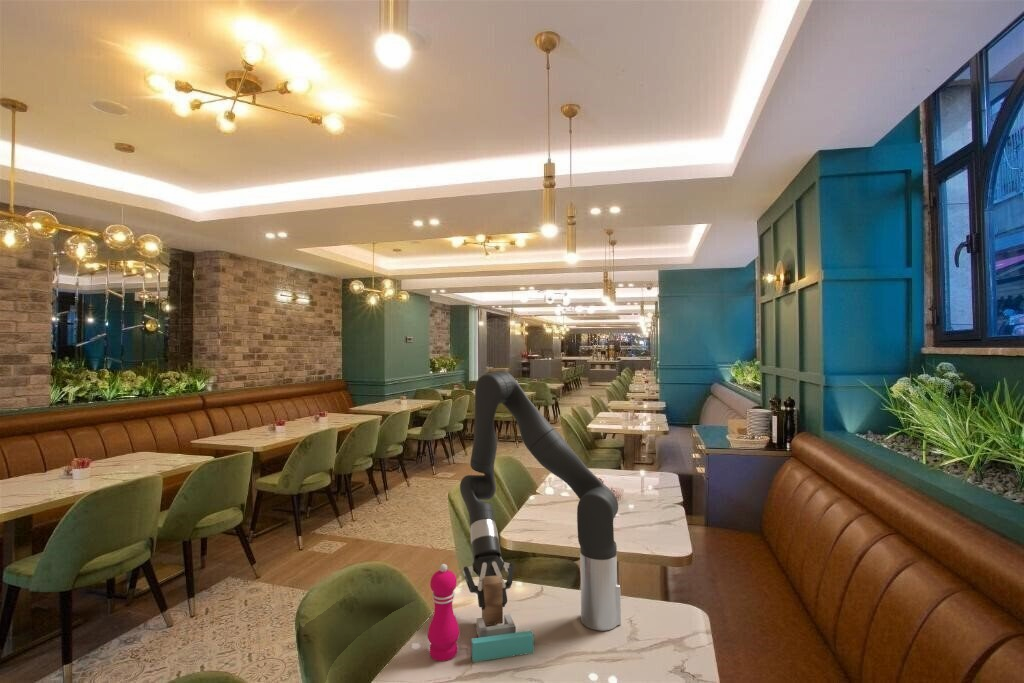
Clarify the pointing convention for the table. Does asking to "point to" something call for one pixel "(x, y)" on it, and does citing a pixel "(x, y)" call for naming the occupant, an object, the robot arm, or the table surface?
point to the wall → (502, 645)
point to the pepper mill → (443, 616)
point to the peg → (492, 600)
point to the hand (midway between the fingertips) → (493, 606)
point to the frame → (496, 627)
